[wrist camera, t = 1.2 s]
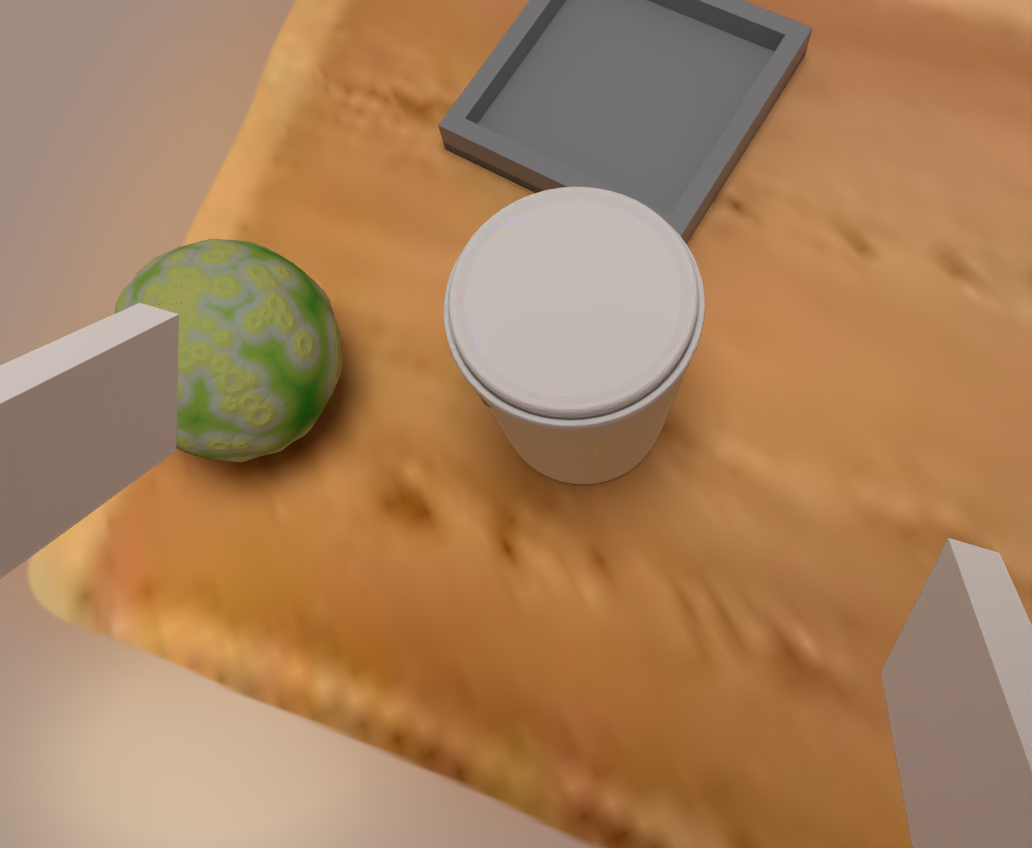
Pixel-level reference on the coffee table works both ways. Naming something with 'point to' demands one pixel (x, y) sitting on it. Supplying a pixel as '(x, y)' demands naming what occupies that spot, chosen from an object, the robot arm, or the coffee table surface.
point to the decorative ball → (243, 346)
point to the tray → (627, 98)
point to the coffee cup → (576, 327)
